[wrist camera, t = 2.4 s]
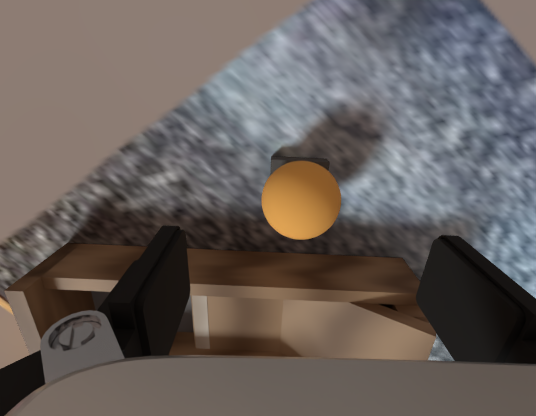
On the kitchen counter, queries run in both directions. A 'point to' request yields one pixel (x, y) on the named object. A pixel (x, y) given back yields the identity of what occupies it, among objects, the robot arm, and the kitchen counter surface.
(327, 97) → the kitchen counter surface
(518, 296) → the robot arm
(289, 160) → the square washer
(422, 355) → the brown long open tray
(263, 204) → the ball
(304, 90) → the kitchen counter surface
